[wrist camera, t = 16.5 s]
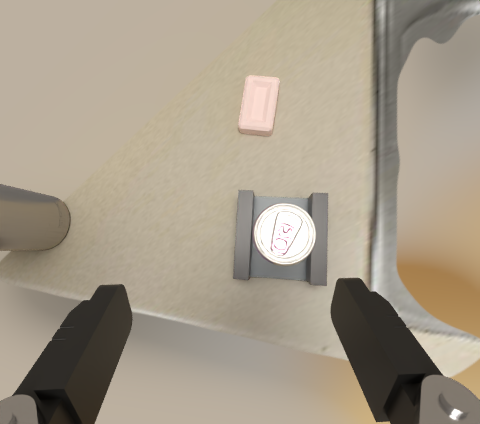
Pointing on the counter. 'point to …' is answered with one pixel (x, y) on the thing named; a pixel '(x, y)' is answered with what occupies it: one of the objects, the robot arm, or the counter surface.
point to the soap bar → (258, 105)
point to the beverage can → (284, 234)
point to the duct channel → (257, 266)
